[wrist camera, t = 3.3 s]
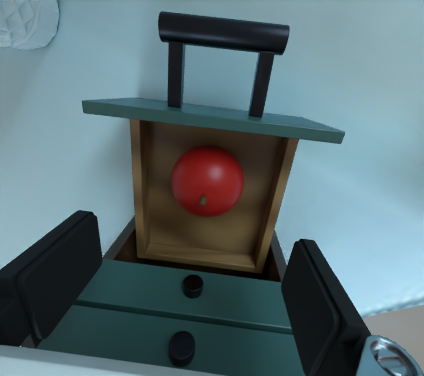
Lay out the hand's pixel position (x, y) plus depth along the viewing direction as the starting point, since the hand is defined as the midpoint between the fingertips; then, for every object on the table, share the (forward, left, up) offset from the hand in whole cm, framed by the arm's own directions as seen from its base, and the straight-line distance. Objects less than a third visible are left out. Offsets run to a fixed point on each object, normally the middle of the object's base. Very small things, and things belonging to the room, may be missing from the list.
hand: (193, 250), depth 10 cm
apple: (0, 0, -11) cm, 11 cm away
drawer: (0, 0, -12) cm, 12 cm away
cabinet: (+8, -12, -13) cm, 19 cm away
